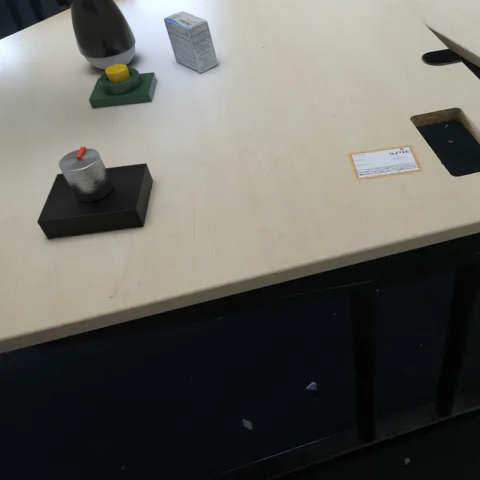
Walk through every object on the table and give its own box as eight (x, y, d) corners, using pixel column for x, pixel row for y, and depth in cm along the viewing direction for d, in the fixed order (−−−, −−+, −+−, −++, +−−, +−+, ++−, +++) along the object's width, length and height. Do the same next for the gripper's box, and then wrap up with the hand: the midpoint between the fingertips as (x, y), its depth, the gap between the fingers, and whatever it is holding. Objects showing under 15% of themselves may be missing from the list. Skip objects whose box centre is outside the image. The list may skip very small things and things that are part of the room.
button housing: (92, 109, 91) (84, 90, 89) (101, 86, 97) (93, 68, 95) (151, 102, 92) (145, 83, 90) (157, 80, 98) (151, 62, 95)
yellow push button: (107, 84, 91) (103, 74, 90) (110, 74, 94) (107, 65, 92) (128, 81, 91) (125, 72, 90) (131, 72, 94) (128, 62, 93)
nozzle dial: (109, 200, 68) (92, 166, 64) (70, 204, 68) (52, 170, 64) (117, 177, 72) (102, 144, 68) (80, 181, 71) (63, 148, 68)
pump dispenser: (121, 79, 99) (88, -6, 88) (76, 72, 101) (39, -11, 91) (153, 55, 106) (126, -26, 95) (110, 49, 108) (79, -30, 98)
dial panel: (47, 239, 68) (36, 221, 66) (66, 190, 75) (57, 173, 73) (143, 226, 69) (135, 209, 67) (153, 180, 76) (146, 163, 74)
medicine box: (219, 65, 101) (208, 19, 95) (200, 74, 99) (187, 28, 93) (194, 54, 105) (182, 9, 99) (175, 62, 103) (162, 17, 97)
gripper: (75, -151, 72) (121, -10, 85) (-42, -145, 71) (22, -2, 83) (62, -142, 67) (113, 8, 79) (-65, -135, 65) (7, 17, 78)
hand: (66, 3), depth 81 cm, fingers closed
